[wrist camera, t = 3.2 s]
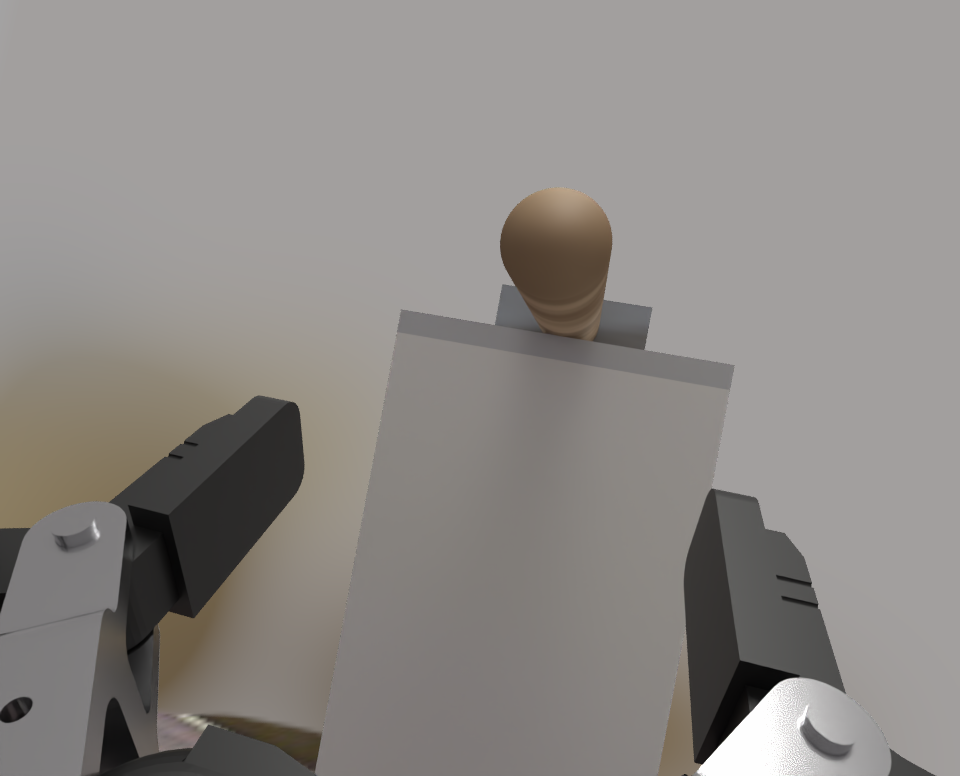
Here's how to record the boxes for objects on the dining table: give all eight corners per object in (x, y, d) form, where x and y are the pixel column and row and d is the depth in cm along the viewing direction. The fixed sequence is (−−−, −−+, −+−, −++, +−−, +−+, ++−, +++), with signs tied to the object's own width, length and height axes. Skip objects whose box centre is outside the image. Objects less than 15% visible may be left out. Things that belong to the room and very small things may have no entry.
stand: (268, 1025, 26) (401, 309, 26) (366, 833, 38) (458, 339, 38) (586, 1155, 24) (734, 365, 24) (586, 907, 36) (685, 378, 36)
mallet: (698, 321, 15) (720, 206, 15) (404, 275, 17) (424, 170, 17) (634, 369, 36) (643, 320, 36) (504, 347, 38) (513, 300, 38)
